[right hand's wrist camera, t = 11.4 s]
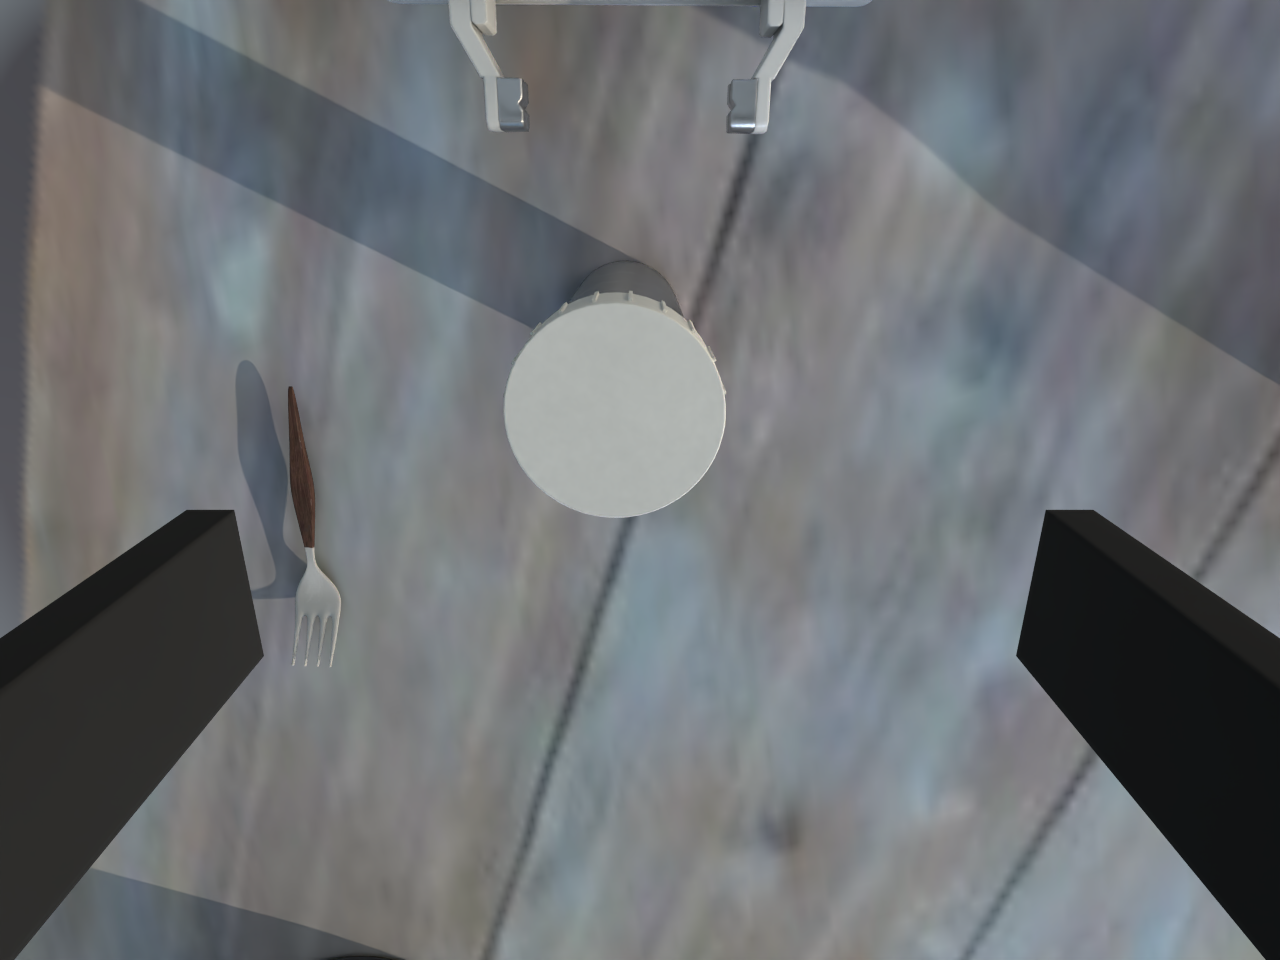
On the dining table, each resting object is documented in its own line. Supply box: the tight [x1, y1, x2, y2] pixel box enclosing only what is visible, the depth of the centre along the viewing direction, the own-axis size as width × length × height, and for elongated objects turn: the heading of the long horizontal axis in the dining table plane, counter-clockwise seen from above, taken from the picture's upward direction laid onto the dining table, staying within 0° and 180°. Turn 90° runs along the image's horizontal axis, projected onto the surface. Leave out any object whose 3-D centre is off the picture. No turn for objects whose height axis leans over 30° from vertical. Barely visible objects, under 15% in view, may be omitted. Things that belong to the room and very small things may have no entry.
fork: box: [288, 387, 341, 667], centre depth 41 cm, size 3×16×2 cm, turn 177°
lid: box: [503, 291, 726, 518], centre depth 22 cm, size 6×6×2 cm
